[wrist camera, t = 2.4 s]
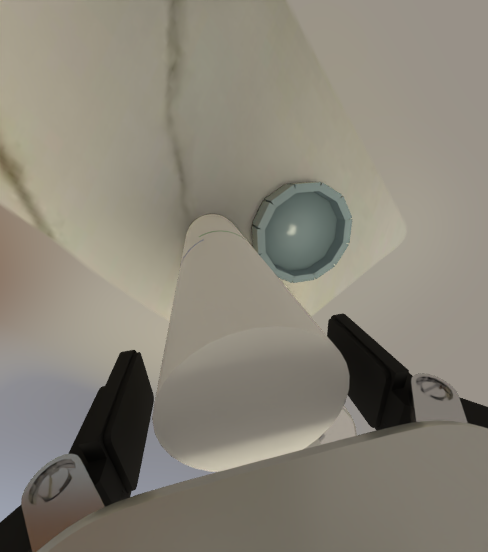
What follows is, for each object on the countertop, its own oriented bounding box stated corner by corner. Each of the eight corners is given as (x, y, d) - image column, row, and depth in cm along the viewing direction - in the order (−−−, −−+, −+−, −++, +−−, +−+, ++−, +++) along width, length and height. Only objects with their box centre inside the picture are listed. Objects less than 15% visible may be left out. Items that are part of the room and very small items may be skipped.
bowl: (249, 186, 29) (255, 187, 26) (343, 179, 31) (357, 179, 28) (254, 279, 34) (259, 287, 31) (334, 268, 36) (345, 275, 33)
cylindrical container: (173, 237, 30) (101, 423, 7) (216, 202, 29) (287, 281, 6) (209, 275, 33) (240, 491, 10) (248, 244, 32) (376, 400, 9)
